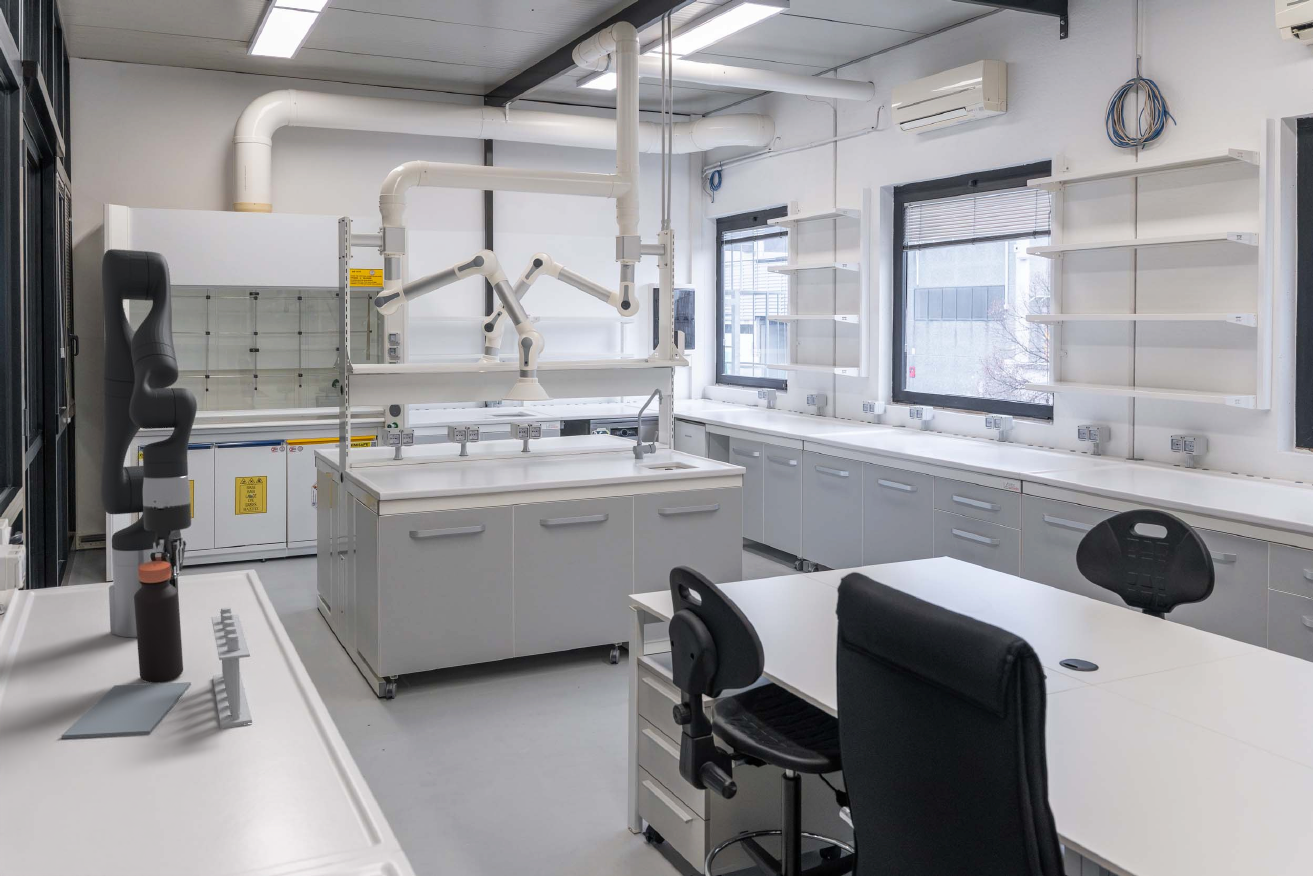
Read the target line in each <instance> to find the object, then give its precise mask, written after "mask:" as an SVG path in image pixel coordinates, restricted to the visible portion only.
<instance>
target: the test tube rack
mask: <svg viewBox="0 0 1313 876" xmlns="http://www.w3.org/2000/svg"><path fill="white" fill-rule="evenodd" d="M232 611H233V610H232V608H231V607H230V606H229V607H228V606H225V607H221V608H220V612H219V613H220V615H219V616H212V617H211V623H212V628H213V634H214V639H215V643H216V645H215V646H216V651H217V654H218V660H219V661H221V670H222V674H221V673H220V674H213V675H212V683H213V688H214V695H216V696H215V700H216V706H217V714H218V719H219V725H220V729H221V728H222V729H227V727H229V728H234V727H233V726H236V727H241V726H240V725H243V726H245V725H244V724H248V723H252V724H253V718H252V715H251V709H250V707H249V702H248V698H247V694H246V691H245V686H244V682H243V678H242V673H241V672H240V670H241V669H240V668H241V667H240V659H241V658H250V657H251V654H250V650H249V646H248V643H247V641H246V636H245V632H244V629H243V626H242V623H241V622H242V621H241V620H240V616H239V614H233V613H232Z"/></svg>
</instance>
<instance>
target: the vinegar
mask: <svg viewBox="0 0 1313 876" xmlns="http://www.w3.org/2000/svg"><path fill="white" fill-rule="evenodd" d="M138 575H139V582H140V584H141V586H142V587H141V588H140V589H139V590H138V591H137V592H136V594H135V595H134V604H135V618H136V631H137V637H136V642H137V643H136V644H137V655H138V656H137V657H138V668H139V669H138V670H139V678H140V679H141V680H142V681H144V682H146V683H149V684H159V683H158V682H161V683H167V682H169V681H172V680H175V679H177V678H179V677H180V675H182V674H183V671H184V663H183V662H184V660H183V646H182V645H183V644H182V630H181V629H182V628H181V617H180V615H181V613H180V600H179V589H178V590H177V589H176V588H175V587H173V586H172V585H171V584H169V581H170V580H171V567H170V563H168V562H165V561H151V562H146V563H143V564H141V565H140V566H139V567H138Z"/></svg>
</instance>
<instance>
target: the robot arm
mask: <svg viewBox="0 0 1313 876" xmlns="http://www.w3.org/2000/svg"><path fill="white" fill-rule="evenodd" d="M101 263H102V264H101V285H102V301H103V304H102V305H103V315H104V319H103V320H104V352H103V353H104V355H103V357H104V358H103V360H104V361H103V381H102V382H103V383H102V384H103V387H102V388H103V390H102V391H103V392H102V393H103V416H104V417H103V419H104V420H103V421H104V422H103V423H104V426H103V427H104V432H103V433H104V435H103V436H104V438H103V452H102V463H101V465H102V466H101V476H100V477H101V479H100V480H101V481H100V498H101V499H100V500H101V504H102V508H103V510H104V511H105V512H106V514H109V515H125V514H137V513H142V515H141V516H140V518H139V519H137V520H136V521H135V522H134V523H133V524H131V525H129V526H127V527H125V528H122V529H120V530H117V531H115V533H113V535H112V537H111V555H112V556H111V557H112V580H113V584H112V585H109V587H108V603H109V631H110V634H112V635H113V634H114V635H115V636H117V637H123V638H137V631H136V618H135V604H134V595H135V594H136V592H137V591H138V590H139V589H140V588H141V587H142V586H141V584H140V582H139V575H138V567H139V566H140V565H141V564H143V563H146V562H151V561H165V562H168V563H170V567H171V580H170V581H169V584H171V585H172V586H173V587H175V588H176V589H177V590H178V591H179V577H180V574H181V573H180V572H182V570H183V564H184V559H185V551H186V545H187V542H186V540H184V538H183V537H182V533H181V530H187V529H189V528H190V527H192V509H191V507H192V506H191V505H192V504H191V487H190V480H189V468H188V467H189V466H188V449H189V444H190V443H189V442H190V437H191V436H190V435H191V433H192V429H193V425H194V423H195V422H194V421H195V418H196V414H197V409H198V404H197V399H196V397H195V395H194V394H193V392H192V391H191V390H189V389H187V388H184V387H171V386H173V385H175V383H176V382H177V381H178V379H179V367H178V362H177V357H176V352H175V346H174V339H173V328H172V327H173V324H172V323H173V322H172V321H173V319H172V318H173V317H172V315H173V314H172V313H173V312H172V293H171V275H170V268H169V265H168V261H167V259H166V257H165V256H164V255H163V254H161V253H159V252H154V251H145V250H144V251H143V250H133V249H132V250H131V249H116V248H109V249H108V250H107V251H105V252H104V254H103V258H102V262H101ZM124 300H130V301H131V300H133V301H152V306H151V309H150V310H149V313H148V314H147V316H146V317H145V319H144V320H143V321H142V322H141V323H140V325H139V326H138V328H137V329H136V330H135V332H134V329H133V328H132V326H131V325H130V323H129V320H128V318H127V316H126V313H125V309H124ZM170 387H171V388H170ZM140 429H143V430H155V429H158V430H159V429H160V430H161V429H173V432H172V434H171V435H170V436H169V437H168V438H166V439H164V440H159V441H155V442H152V443H148V444H146V445H145V446H144V447H143V450H142V465H132V466H125V465H124V464H125V460H126V456H127V453H128V451H129V447H130V445H131V443H132V441H133V440H134V438H135V436H136V435H137V433H138V432H139V431H140Z"/></svg>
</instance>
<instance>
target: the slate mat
mask: <svg viewBox="0 0 1313 876" xmlns="http://www.w3.org/2000/svg"><path fill="white" fill-rule="evenodd" d="M190 685H191V686H192V682H191V681H187V682H186V681H185V682H161V683H143V684H141V683H140V684H120V685H119V684H117V685H114V686H112V687H111V688H110V689H108V691H107V692H106V693H105V694H104V695H102V696H101V698H100V699H98V700H97V701H96V702H95V703H94V704H93V705H92V706H91V707H90V708H89V709H88V710H86V712H84V713H83V714H82V715H81V717H79V718H78V719H77V720H76V721H75V722H74V723H73V724H72V725H70V727H69V728H68V729H67V730H66V731H64V732H63V733H62V734H61V739H62V740H63V739H64V740H65V739H79V738H97V737H98V738H101V737H103V738H104V737H117V736H118V737H121V736H136V735H137V736H140V735H150V734H151V733H153V731H154V730H155V728H156V727H157V726H158V725H159V724H160V723H161V722H162V720H163V719H164V718H165V717H166V715H167V714H168V713H169V712H170V711H171V709H173V707H174V706H175V705H176V704H177V702H178V701H179V700H180V699H181V698H182V697H183V695H184V694H185V693H186V692H187V690H188V689H189V688H190V687H191V686H190ZM189 686H190V687H189ZM188 687H189V688H188ZM185 691H186V692H185ZM180 697H181V698H180ZM179 698H180V699H179Z"/></svg>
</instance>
